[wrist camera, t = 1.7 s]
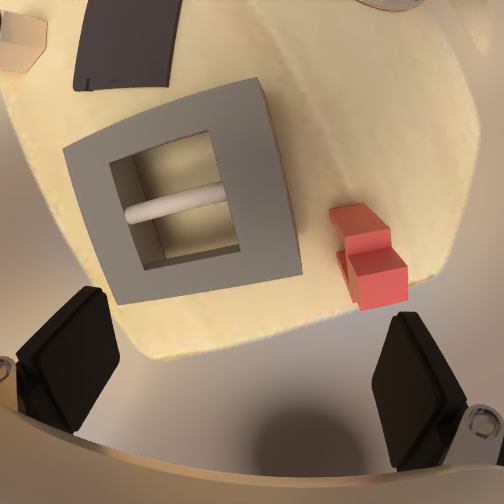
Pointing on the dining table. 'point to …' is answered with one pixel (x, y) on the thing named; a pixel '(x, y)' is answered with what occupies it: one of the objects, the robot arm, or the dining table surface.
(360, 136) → the dining table surface
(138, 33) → the notebook
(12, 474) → the robot arm
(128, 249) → the grey frame with crossbar
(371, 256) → the red stepped block
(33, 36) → the jar
